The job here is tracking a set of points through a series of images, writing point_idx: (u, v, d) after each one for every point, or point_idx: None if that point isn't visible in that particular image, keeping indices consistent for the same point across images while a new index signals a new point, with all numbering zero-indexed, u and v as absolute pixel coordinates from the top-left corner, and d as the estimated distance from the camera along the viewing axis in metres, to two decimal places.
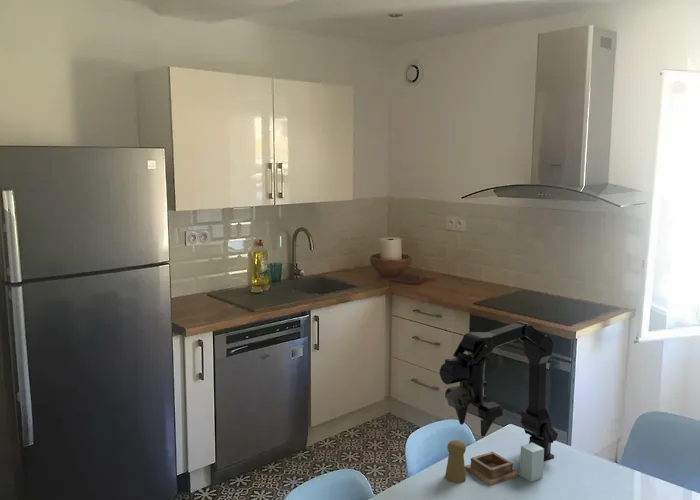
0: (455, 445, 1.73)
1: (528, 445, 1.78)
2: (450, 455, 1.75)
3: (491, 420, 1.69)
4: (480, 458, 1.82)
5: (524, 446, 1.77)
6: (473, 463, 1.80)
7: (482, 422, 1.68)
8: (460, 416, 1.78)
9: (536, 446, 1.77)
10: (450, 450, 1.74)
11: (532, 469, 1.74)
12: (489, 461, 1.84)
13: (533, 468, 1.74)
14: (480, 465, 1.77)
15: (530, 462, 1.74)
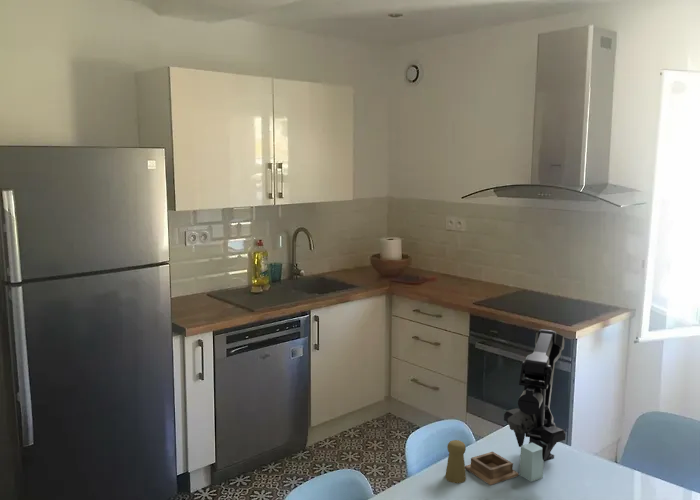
0: (455, 445, 1.73)
1: (528, 445, 1.78)
2: (450, 455, 1.75)
3: (553, 444, 1.72)
4: (480, 458, 1.82)
5: (524, 446, 1.77)
6: (473, 463, 1.80)
7: (544, 446, 1.71)
8: (519, 439, 1.80)
9: (536, 446, 1.77)
10: (450, 450, 1.74)
11: (532, 469, 1.74)
12: (489, 461, 1.84)
13: (533, 468, 1.74)
14: (480, 465, 1.77)
15: (530, 462, 1.74)
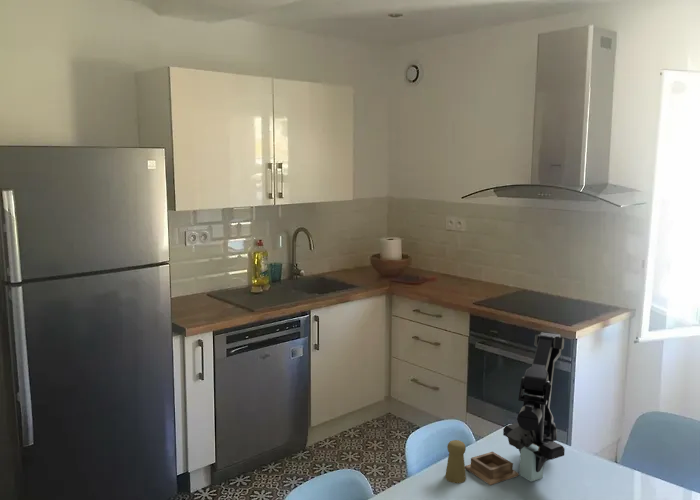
0: (455, 445, 1.73)
1: None
2: (450, 455, 1.75)
3: None
4: (480, 458, 1.82)
5: (524, 446, 1.77)
6: (473, 463, 1.80)
7: (537, 458, 1.73)
8: None
9: (536, 446, 1.77)
10: (450, 450, 1.74)
11: (532, 469, 1.74)
12: (489, 461, 1.84)
13: (533, 468, 1.74)
14: (480, 465, 1.77)
15: (530, 462, 1.74)
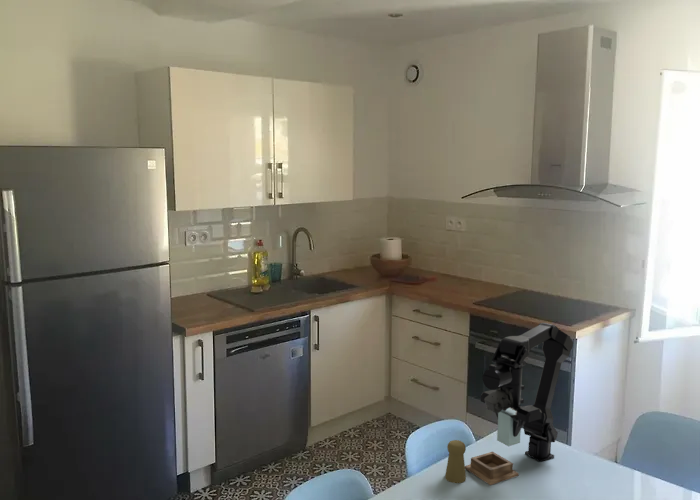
0: (455, 445, 1.73)
1: (505, 410, 1.77)
2: (450, 455, 1.75)
3: (523, 420, 1.74)
4: (480, 458, 1.82)
5: (501, 411, 1.77)
6: (473, 463, 1.80)
7: (515, 422, 1.73)
8: None
9: (513, 411, 1.77)
10: (450, 450, 1.74)
11: (509, 433, 1.74)
12: (489, 461, 1.84)
13: (511, 433, 1.74)
14: (480, 465, 1.77)
15: (508, 426, 1.74)
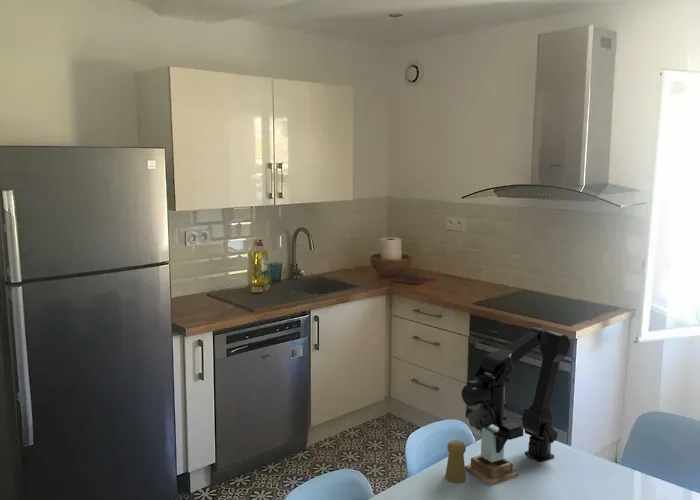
0: (455, 445, 1.73)
1: (489, 426, 1.79)
2: (450, 455, 1.75)
3: None
4: (480, 458, 1.82)
5: None
6: (473, 463, 1.80)
7: (497, 439, 1.75)
8: None
9: (497, 427, 1.79)
10: (450, 450, 1.74)
11: (492, 450, 1.76)
12: (489, 461, 1.84)
13: (493, 449, 1.76)
14: (480, 465, 1.77)
15: (491, 443, 1.76)
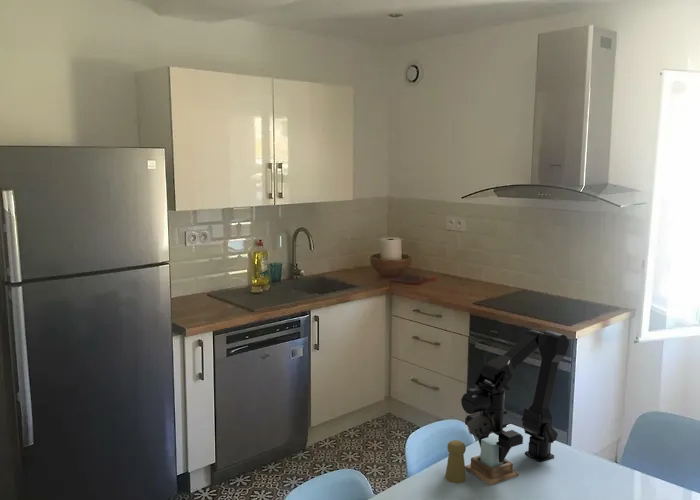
0: (455, 445, 1.73)
1: (488, 439, 1.80)
2: (450, 455, 1.75)
3: None
4: (480, 458, 1.82)
5: (484, 440, 1.79)
6: (473, 463, 1.80)
7: (500, 449, 1.74)
8: None
9: (496, 439, 1.79)
10: (450, 450, 1.74)
11: (492, 462, 1.76)
12: None
13: (493, 461, 1.77)
14: (480, 465, 1.77)
15: (490, 455, 1.76)
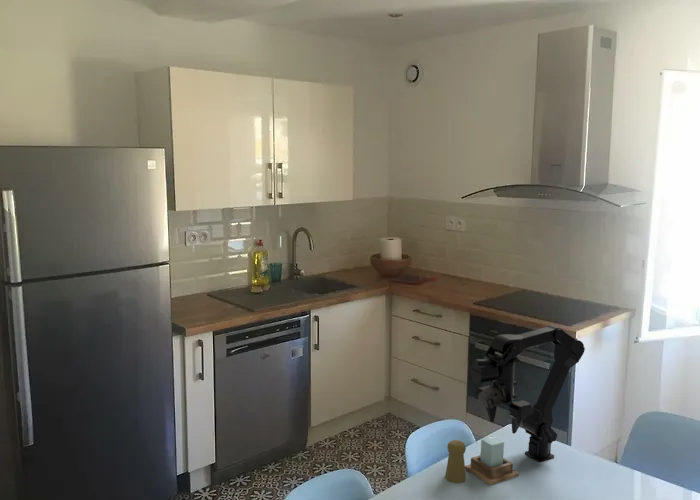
0: (455, 445, 1.73)
1: (488, 439, 1.80)
2: (450, 455, 1.75)
3: (522, 418, 1.78)
4: (480, 458, 1.82)
5: (484, 440, 1.79)
6: (473, 463, 1.80)
7: (513, 420, 1.77)
8: (490, 414, 1.86)
9: (496, 439, 1.79)
10: (450, 450, 1.74)
11: (492, 462, 1.76)
12: None
13: (493, 461, 1.77)
14: (480, 465, 1.77)
15: (490, 455, 1.76)
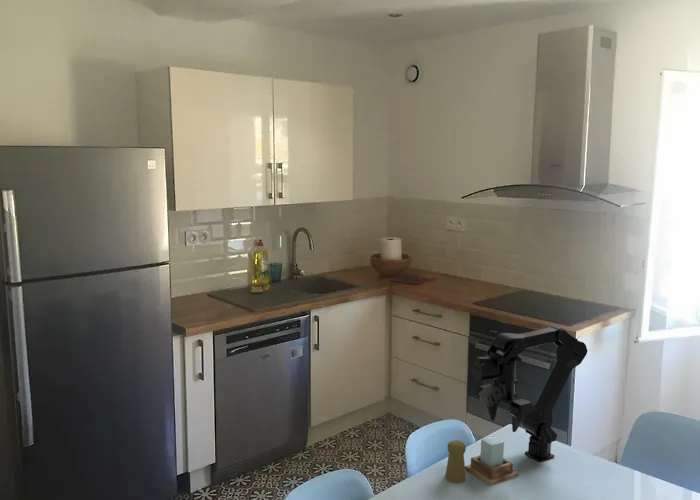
0: (455, 445, 1.73)
1: (488, 439, 1.80)
2: (450, 455, 1.75)
3: (522, 416, 1.78)
4: (480, 458, 1.82)
5: (484, 440, 1.79)
6: (473, 463, 1.80)
7: (514, 418, 1.77)
8: (491, 413, 1.87)
9: (496, 439, 1.79)
10: (450, 450, 1.74)
11: (492, 462, 1.76)
12: None
13: (493, 461, 1.77)
14: (480, 465, 1.77)
15: (490, 455, 1.76)
